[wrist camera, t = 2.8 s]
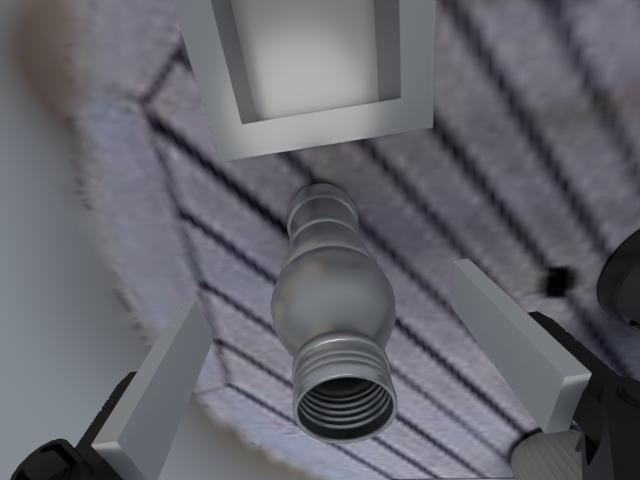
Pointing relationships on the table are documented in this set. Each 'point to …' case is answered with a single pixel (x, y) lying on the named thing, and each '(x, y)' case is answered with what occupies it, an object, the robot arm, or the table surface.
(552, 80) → the table surface
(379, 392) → the plastic bottle
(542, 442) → the canister
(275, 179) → the table surface
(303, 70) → the well
